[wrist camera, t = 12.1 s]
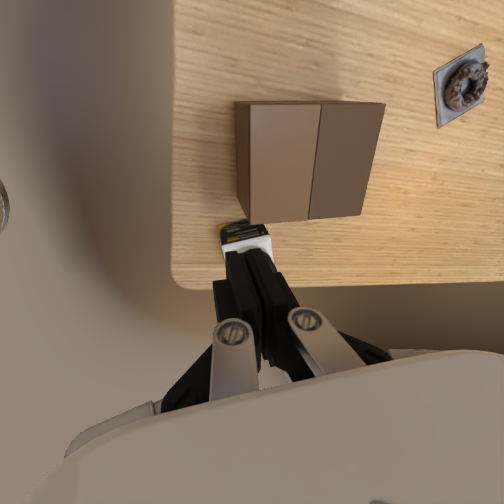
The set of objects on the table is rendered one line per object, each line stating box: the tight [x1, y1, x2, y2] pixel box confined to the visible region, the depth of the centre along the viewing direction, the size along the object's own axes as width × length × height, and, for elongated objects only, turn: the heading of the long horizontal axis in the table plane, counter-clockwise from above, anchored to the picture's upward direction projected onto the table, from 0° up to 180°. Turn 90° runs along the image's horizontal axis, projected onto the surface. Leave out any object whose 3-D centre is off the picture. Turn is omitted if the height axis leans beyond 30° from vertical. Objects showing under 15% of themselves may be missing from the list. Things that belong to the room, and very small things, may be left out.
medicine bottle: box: [218, 219, 277, 273], centre depth 40 cm, size 7×7×12 cm
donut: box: [434, 44, 490, 129], centre depth 38 cm, size 8×8×2 cm
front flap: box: [250, 104, 321, 225], centre depth 30 cm, size 7×13×1 cm, turn 1°
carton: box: [234, 101, 386, 223], centre depth 35 cm, size 15×13×10 cm
